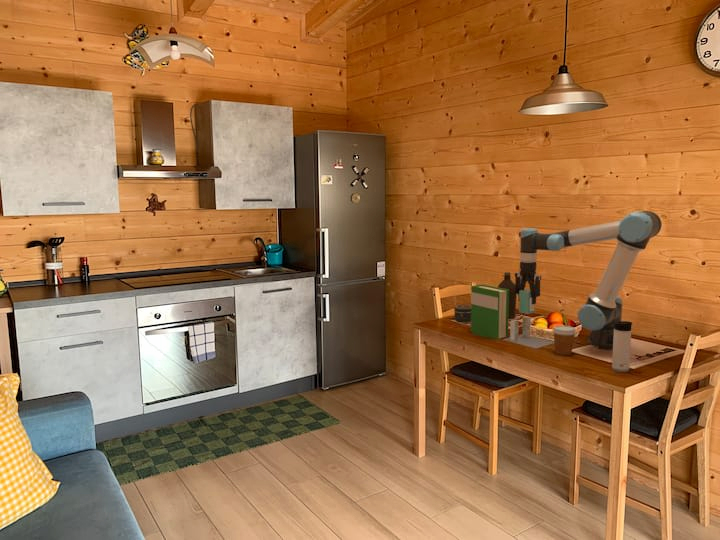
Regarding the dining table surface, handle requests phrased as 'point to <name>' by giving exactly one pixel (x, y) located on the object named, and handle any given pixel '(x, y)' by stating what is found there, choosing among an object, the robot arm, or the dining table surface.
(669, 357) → the dining table surface
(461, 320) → the jar
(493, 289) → the hardback book
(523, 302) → the grey-green piece
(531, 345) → the board
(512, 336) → the post
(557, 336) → the disposable coffee cup
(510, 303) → the olive oil
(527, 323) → the goal post
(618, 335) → the travel mug
